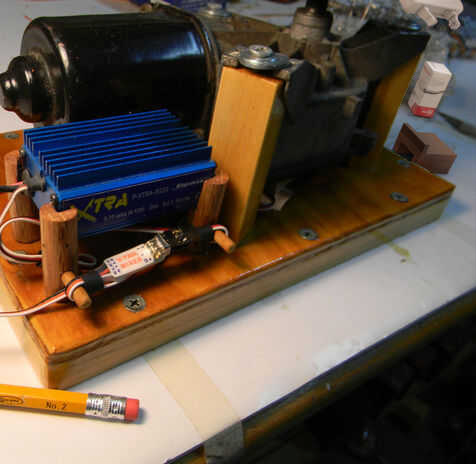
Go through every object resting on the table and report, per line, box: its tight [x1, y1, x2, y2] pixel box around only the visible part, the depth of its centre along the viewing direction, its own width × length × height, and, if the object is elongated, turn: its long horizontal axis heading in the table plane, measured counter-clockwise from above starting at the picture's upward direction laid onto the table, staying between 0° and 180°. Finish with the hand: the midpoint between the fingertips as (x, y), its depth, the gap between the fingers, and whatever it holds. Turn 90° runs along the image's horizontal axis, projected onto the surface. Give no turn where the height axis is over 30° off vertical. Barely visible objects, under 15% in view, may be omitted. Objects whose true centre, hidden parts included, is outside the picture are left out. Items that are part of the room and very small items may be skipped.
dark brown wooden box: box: [392, 122, 458, 175], centre depth 102 cm, size 8×10×6 cm
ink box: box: [407, 60, 453, 119], centre depth 123 cm, size 9×5×12 cm, turn 168°
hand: (445, 25), depth 117 cm, fingers open, 8 cm apart
